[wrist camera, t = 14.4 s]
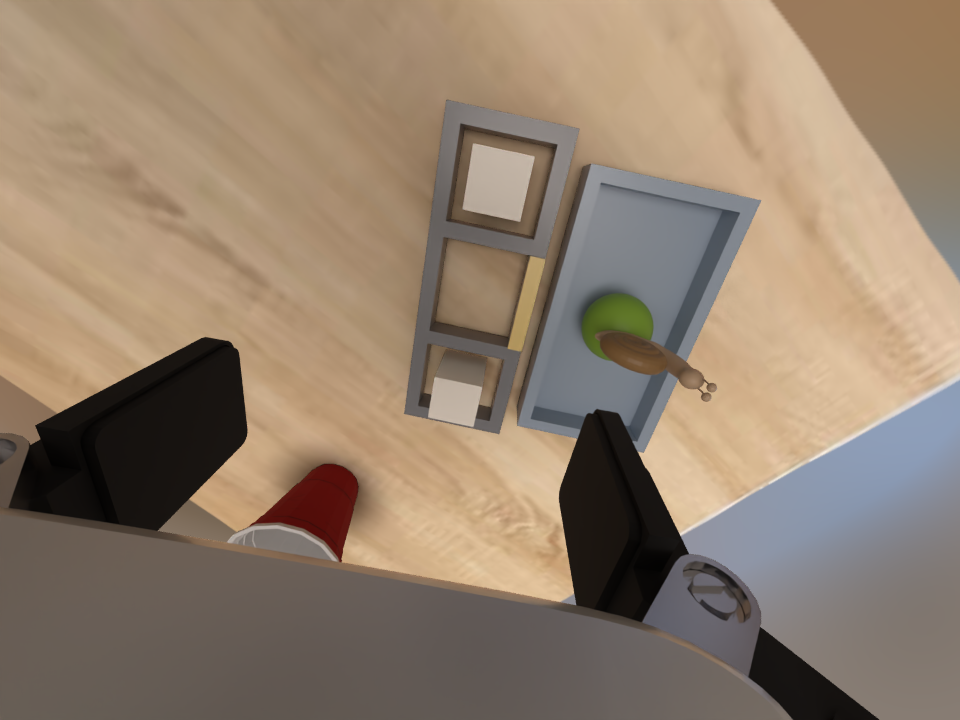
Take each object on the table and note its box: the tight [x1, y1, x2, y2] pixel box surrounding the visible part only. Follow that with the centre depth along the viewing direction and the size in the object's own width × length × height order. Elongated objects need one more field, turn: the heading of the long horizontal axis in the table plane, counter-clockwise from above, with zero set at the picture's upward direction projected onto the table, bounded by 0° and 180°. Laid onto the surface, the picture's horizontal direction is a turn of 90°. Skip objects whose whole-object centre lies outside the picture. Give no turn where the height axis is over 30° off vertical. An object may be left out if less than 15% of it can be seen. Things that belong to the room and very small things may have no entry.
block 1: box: [428, 349, 487, 427], centre depth 35 cm, size 4×4×6 cm
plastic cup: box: [227, 464, 358, 562], centre depth 39 cm, size 11×11×12 cm
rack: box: [404, 100, 579, 434], centre depth 33 cm, size 26×9×3 cm, turn 169°
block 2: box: [463, 143, 535, 222], centre depth 28 cm, size 4×4×6 cm
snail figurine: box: [581, 293, 717, 402], centre depth 28 cm, size 5×6×12 cm
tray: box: [517, 164, 761, 453], centre depth 33 cm, size 22×12×4 cm, turn 169°
